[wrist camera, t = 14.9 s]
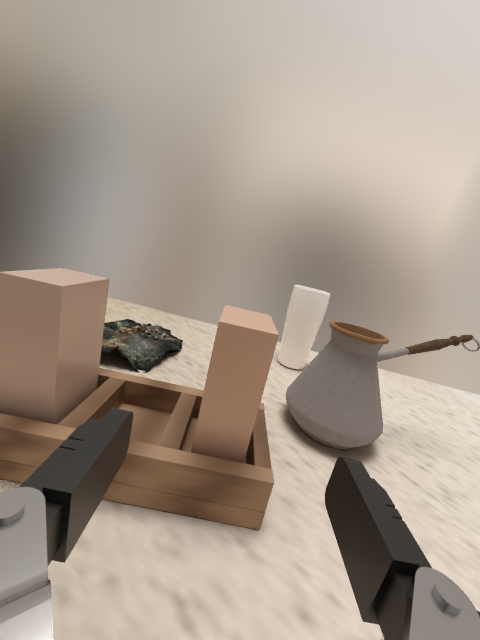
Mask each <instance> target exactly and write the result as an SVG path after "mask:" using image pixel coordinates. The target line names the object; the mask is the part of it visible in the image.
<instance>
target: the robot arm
mask: <svg viewBox="0 0 480 640" xmlns="http://www.w3.org/2000/svg"><path fill="white" fill-rule="evenodd" d="M133 415H134V414H133V412H132V411H127V410H123V409H118V408H111V409H110V411H109V412H108V413H107V414H106V415H105V416H104V417H103V419H102V420H98V419H94V418H93V419H91V420H89V421H87V422H85V423H84V424H82V425H80V426H78V427H77V428H76V429H75V430H74V431H73V432H72V433H71V434H70V436H69V437H68V439H66V440H65V441H64V442H63V443H62V444H61V445H60V446H59V448H57V449H56V450H55V451H54V452H53V453H52V454H51V455H50V456H49V457H48V458H47V459H46V460H45V461H44V462H43V463H42V464H41V465H40V466H39V467H38V468H37V469H36V470H35V471H34V472H33V474H32V475H31V476H30V477H29V478H28V479H27V480H26V481H25V482H24V483H23V484H22V485H21V486H20V487H17V488H13V489H9V490H6V491H3V492H1V493H0V640H53V621H52V597H51V584H50V580H48V565H49V564H50V562H51V561H52V560H54V561H59V562H64V563H65V561H66V559H67V558H68V556H69V554H70V553H71V551H72V549H73V547H74V546H75V544H76V542H77V541H78V539H79V537H80V535H81V534H82V532H83V530H84V529H85V527H86V525H87V524H88V522H89V520H90V518H91V517H92V515H93V513H94V512H95V510H96V508H97V506H98V505H99V503H100V501H101V500H102V498H103V496H104V495H105V493H106V491H107V489H108V488H109V486H110V484H111V483H112V481H113V479H114V478H115V476H116V474H117V472H118V471H119V469H120V467H121V466H122V464H123V462H124V459H125V457H126V454H127V451H128V447H129V442H130V435H131V429H132V423H133ZM325 505H326V509H327V512H328V515H329V518H330V521H331V524H332V527H333V530H334V534H335V537H336V540H337V543H338V546H339V549H340V552H341V555H342V558H343V561H344V564H345V567H346V571H347V574H348V577H349V580H350V583H351V586H352V589H353V592H354V595H355V598H356V601H357V605H358V608H359V611H360V614H361V617H362V620H363V622H368V623H374V624H379V625H380V628H381V630H382V633H383V636H382V638H381V640H480V612H478V611H476V609H475V607H474V605H473V604H472V602H471V601H470V599H469V598H468V597H467V595H466V594H465V593H464V592H463V591H462V590H461V589H460V588H459V587H458V586H457V585H456V584H455V583H454V582H453V581H452V580H451V579H449V578H448V577H447V576H445V575H444V574H442V573H441V572H439V571H437V570H435V569H432V567H431V565H430V564H429V562H428V560H427V559H426V557H425V555H424V554H423V552H422V550H421V549H420V547H419V545H418V544H417V542H416V540H415V539H414V537H413V535H412V534H411V532H410V530H409V529H408V527H407V525H406V524H405V522H404V521H402V517H401V515H400V514H399V512H398V510H397V509H395V505H394V504H393V502H392V500H391V499H390V497H389V496H388V494H387V492H386V491H385V490H384V489H383V488H382V487H381V486H380V485H379V484H378V483H377V482H376V481H375V479H372V478H370V476H369V474H368V472H367V471H366V469H365V467H364V465H363V464H362V463H361V462H360V461H357V460H352V459H348V458H343V457H339V458H338V459H337V461H336V464H335V466H334V469H333V471H332V474H331V477H330V479H329V482H328V485H327V487H326V491H325Z"/></svg>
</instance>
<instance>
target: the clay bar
mask: <svg viewBox="0 0 480 640" xmlns="http://www.w3.org/2000/svg"><path fill="white" fill-rule="evenodd" d="M278 336H279V334H278V332H277V330H276V327H275V325H274V323H273V321H272V318H271V316H270V315H267V314H262V313H258V312H253V311H249V310H245V309H240V308H236V307H231V306H227V305H226V306H225V308H224V310H223V313H222V315H221V318H220V320H219V324H218V328H217V333H216V337H215V342H214V347H213V351H212V356H211V360H210V365H209V370H208V374H207V379H206V384H205V388H204V393H203V397H202V402H201V407H200V411H199V416H198V421H197V425H196V430H195V434H194V439H193V444H192V448H191V453H196V454H201V455H206V456H211V457H215V458H220V459H225V460H230V461H235V462H240V463H244V460H245V456H246V453H247V449H248V446H249V442H250V438H251V435H252V431H253V427H254V424H255V420H256V416H257V413H258V409H259V405H260V402H261V398H262V394H263V391H264V387H265V383H266V380H267V376H268V372H269V369H270V365H271V362H272V358H273V354H274V351H275V347H276V343H277V339H278Z"/></svg>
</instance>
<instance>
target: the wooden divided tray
mask: <svg viewBox="0 0 480 640" xmlns="http://www.w3.org/2000/svg"><path fill="white" fill-rule="evenodd" d="M203 393H204V391H203V390H198V389H194V388H189V387H184V386H180V385H175V384H171V383H166V382H161V381H157V380H152V379H147V378H143V377H138V376H133V375H129V374H124V373H119V372H115V371H110V370H105V369H101V368H99V375H98V383H97V389H96V390H95V391H94V392H93V393H92V394H91V395H90V396H89V397H88V398H86V399H85V400H84V401H83V402H82V403H81V404H80V405H79V406H78V407H76V408H75V409H74V410H73V411H72V412H71V413H70V414H69V415H68V416H66V417H65V418H64V419H63V420H62V421H61V422H60V423H59V424H58V425H56V424H51V423H46V422H41V421H36V420H31V419H27V418H22V417H17V416H12V415H7V414H2V413H0V479H4V480H9V481H14V482H19V483H24V482H25V481H26V480H27V479H28V478H29V477H30V476H31V475H32V474H33V472H34V471H35V470H36V469H37V468H38V467H39V466H40V465H41V464H42V463H43V462H44V461H45V460H46V459H47V458H48V457H49V456H50V455H51V454H52V453H53V452H54V451H55V450H56V449H57V448H59V446H60V445H61V444H62V443H63V442H64V441H65V440H66V439H68V437H69V436H70V434H71V433H72V432H73V431H74V430H75V429H76V428H77V427H78V426H80V425H82V424H84V423H85V422H87V421H89V420H91V419H93V418H94V419H98V420H102V419H103V417H104V416H105V415H106V414H107V413H108V412H109V411H110V409H111V408H118V409H123V410H127V411H132V412H133V414H134V415H133V423H132V429H131V435H130V442H129V447H128V451H127V454H126V457H125V459H124V462H123V464H122V466H121V467H120V469H119V471H118V472H117V474H116V476H115V478H114V479H113V481H112V483H111V484H110V486H109V488H108V489H107V491H106V493H105V495H104V496H103V498H102V499H105V500H110V501H115V502H120V503H125V504H130V505H135V506H140V507H145V508H150V509H155V510H161V511H166V512H171V513H176V514H181V515H186V516H191V517H196V518H201V519H206V520H211V521H216V522H221V523H226V524H231V525H236V526H242V527H247V528H252V529H257V530H260V527H261V524H262V521H263V517H264V514H265V510H266V507H267V504H268V500H269V497H270V494H271V491H272V488H273V484H274V480H273V473H272V469H271V462H270V454H269V446H268V438H267V431H266V423H265V415H264V404H263V403H260V405H259V409H258V413H257V416H256V420H255V424H254V427H253V431H252V435H251V438H250V442H249V446H248V449H247V453H246V456H245V460H244V463H240V462H235V461H230V460H225V459H220V458H215V457H211V456H206V455H201V454H196V453H191V448H192V444H193V439H194V434H195V430H196V425H197V421H198V416H199V411H200V407H201V402H202V397H203Z"/></svg>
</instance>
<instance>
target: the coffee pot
mask: <svg viewBox="0 0 480 640" xmlns="http://www.w3.org/2000/svg"><path fill="white" fill-rule="evenodd" d="M329 325H330V327H331V328H332V333H331V341H330V342H329V343H328V344H327V345H326V346H325V348H323V350H322V351H321V352H320V353H319V354H318V355H317V356H316V357H315V358H314V359H313V361H312V362H311V363H310V364H309V365H308V366H307V367H306V368H305V369H304V371H303V372H302V373H301V374H300V375H299V376H298V377H297V378H296V379H295V381H294V382H293V383H292V384H291V385H290V386H289V387H288V389H287V392H286V400H287V405H288V408H289V411H290V412H291V414H292V416H293V417H294V419H295V420H296V423H297V424H298V426H299V427H300V428H301V429H302V430H303V431H304V432H305V433H306V434H307V435H308V436H310V437H311V438H313V439H314V440H316V441H318V442H320V443H322V444H324V445H327V446H330V447H333V448H338V449H350V448H353V447H360V446H364V445H367V444H371V443H372V442H373V441H375V440H376V439H377V438H378V437H379V436H380V435H381V434H382V431H383V421H382V411H381V400H380V390H379V379H378V369H377V362H378V361H382V360H386V359H390V358H394V357H398V356H403V355H406V354H408V355H409V354H416V353H422V352H428V351H434V350H440V349H442V348H444V347H447V346H450V345H454V346H457V345H459V344H460V342H462V345H463V346H464V347H465V348H466V346H465V345H464V343H463V342H468V341H470V340H472V339H473V340H474V341H475V342H477V345H478V348H477V350H479V348H480V344H479V342H478V341H477V340H476V339H474V337H473V336H472V335H462V336H461V337H456V336H451V337H450V338H449V339H438V340H437V339H436V340H432V341H428V342H425V343H421V344H418V345H414V346H410V347H406V348H405V349H399V350H394V351H388V352H384V353H378V351H379V350H380V348H381V347H382V345H383V344H387V343H388V342H389V340H388V338H387V337H384V336H383V335H381V334H379V333H376V332H373V331H371V330H368V329H365V328H362V327H358V326H355V325H351V324H347V323H342V322H330V324H329ZM466 349H467V350H469V351H477V350H470V349H468V348H466ZM377 353H378V354H377Z"/></svg>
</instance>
